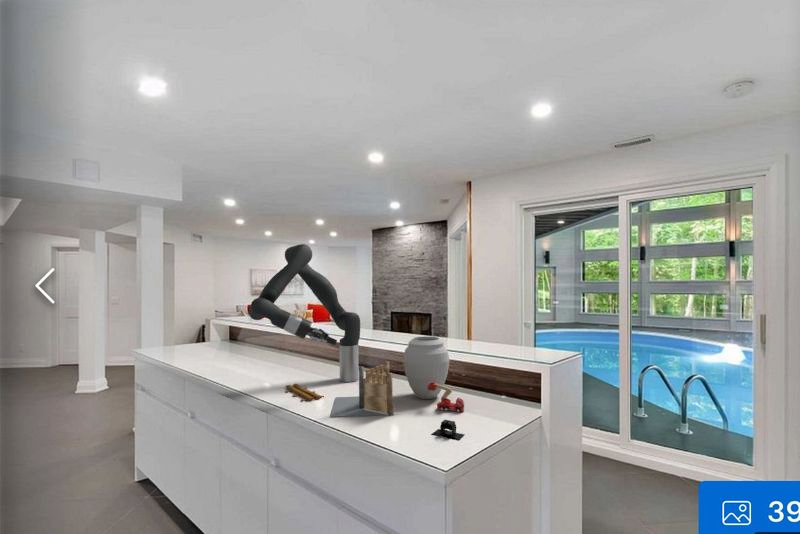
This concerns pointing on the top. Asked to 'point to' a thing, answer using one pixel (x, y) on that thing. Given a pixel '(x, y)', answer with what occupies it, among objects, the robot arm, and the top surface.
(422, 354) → the vase
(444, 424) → the black arched bracket
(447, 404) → the toy fire truck
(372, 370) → the fence panel
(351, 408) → the mat
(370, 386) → the fixed fence
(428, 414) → the top surface
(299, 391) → the decorative fence
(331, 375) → the top surface
